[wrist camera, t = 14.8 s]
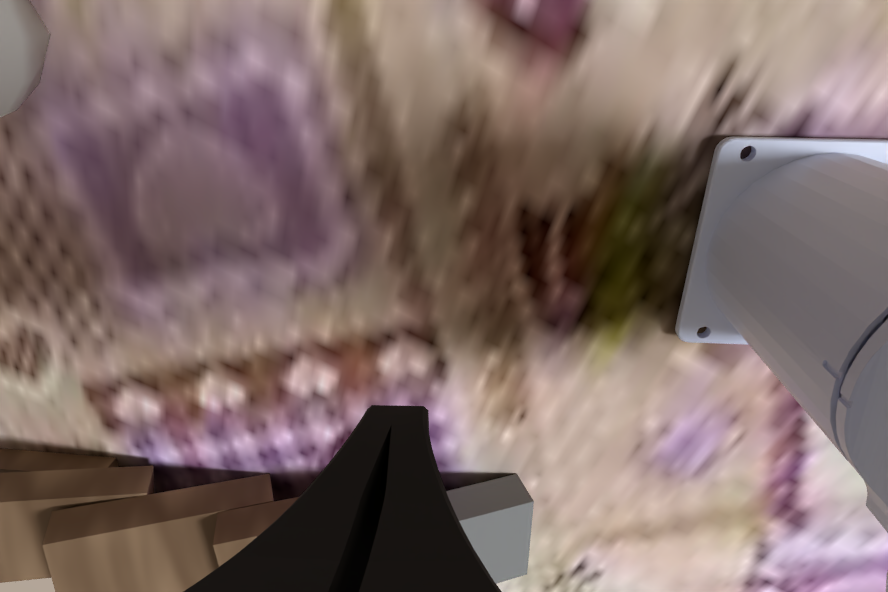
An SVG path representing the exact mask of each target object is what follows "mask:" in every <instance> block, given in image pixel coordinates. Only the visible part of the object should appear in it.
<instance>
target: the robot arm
mask: <svg viewBox="0 0 888 592" xmlns="http://www.w3.org/2000/svg"><path fill="white" fill-rule="evenodd" d="M746 146H750V147H751V153H750V155H749V156H748V157H746V158H744V159H741V158H740V153H741V151H742V149H744V148H745V147H746ZM701 327H707V329H706V330H705V331H704V332H703V333H697V331H698V329H700V328H701ZM675 332H676V334H677V336H678V337H679V339H681V340H682V341H684V342H694V343H721V344H749V345H750V346H751V347H752V349H753V350H754V351H755V352H756V353H757V355H758V356H759V357H760V358H761V359H762V360H763V362H764V363H765V364H766V365H767V366H768V368H769V369H770V370H771V371H772V372H773V373H774V375H775V376H776V377H777V378H778V379H779V381H780V382H781V383H782V384H783V385H784V386H785V388H786V389H787V390H788V391H789V392H790V393H791V395H792V396H793V397H794V398H795V399H796V401H797V402H798V403H799V404H800V405H801V406H802V408H803V409H804V410H805V411H806V412H807V414H808V415H809V416H810V417H811V418H812V419H813V421H814V422H815V423H816V424H817V425H818V426H819V428H820V429H821V430H822V431H823V432H824V434H825V435H826V436H827V437H828V438H829V439H830V441H831V442H832V443H833V444H834V445H835V447H836V448H837V449H838V450H839V451H840V452H841V454H842V455H843V456H844V457H845V458H846V459H847V460H848V461H849V462H850V464H851V465H852V466H853V467H854V468H855V470H856V471H857V472H858V473H859V475H860V476H861V477H862V478H863V479H864V481H865V484H866V486H867V492H868V496H867V501H866V506H867V508H868V509H869V510H870V511H871V512H872V514H873V515H874V516H875V517H876V519H877V520H878V521H879V522H880V524H881V525H882V526H883V527H884V529H885V530H886V531H887V532H888V140H880V139H832V138H783V137H734V136H732V137H727V138H725V139H723V140H721V141H720V142H719V143H718V144H717V146H716V148H715V151H714V155H713V159H712V164H711V168H710V173H709V177H708V182H707V186H706V191H705V195H704V200H703V204H702V209H701V213H700V218H699V222H698V227H697V231H696V236H695V240H694V245H693V249H692V254H691V258H690V263H689V267H688V272H687V276H686V281H685V285H684V290H683V294H682V299H681V303H680V308H679V312H678V317H677V321H676V326H675ZM183 592H501V590H500V589H499V588H498V586H497V585H496V583H495V582H494V580H493V579H492V577H491V576H490V574H489V572H488V571H487V569H486V568H485V566H484V564H483V563H482V561H481V560H480V558H479V556H478V555H477V553H476V552H475V550H474V548H473V547H472V545H471V543H470V541H469V539H468V537H467V535H466V534H465V532H464V530H463V528H462V526H461V524H460V522H459V520H458V518H457V516H456V513H455V511H454V509H453V507H452V505H451V502H450V500H449V498H448V495H447V492H446V490H445V487H444V485H443V482H442V479H441V476H440V474H439V471H438V467H437V464H436V461H435V457H434V454H433V450H432V446H431V442H430V437H429V420H428V410H427V409H426V408H425V407H424V406H379V405H372V406H371V407H370V408H368V409H367V411H366V412H365V414H364V416H363V417H362V419H361V420H360V422H359V423H358V425H357V426H356V428H355V429H354V431H353V432H352V433H351V435H350V436H349V438H348V439H347V440H346V442H345V443H344V444H343V446H342V447H341V448H340V450H339V451H338V452H337V453H336V455H335V456H334V457H333V459H332V460H331V461H330V462H329V464H328V465H327V466H326V467H325V469H324V470H323V471H322V472H321V473H320V474H319V476H318V477H317V478H316V479H315V480H314V481H313V482H312V484H311V485H310V486H309V487H308V488H307V489H306V490H305V491H304V493H303V494H302V495H301V496H300V497H299V498H298V499H297V500H296V501H295V502H294V503H293V504H292V505H291V506H290V507H289V508H288V509H287V510H286V511H285V512H284V513H283V514H282V515H281V516H280V517H279V518H278V519H277V520H276V521H274V522H273V523H272V524H271V525H270V526H269V527H268V528H267V529H265V530H264V531H263V532H262V533H261V534H260V535H259V536H257V537H256V538H255V539H254V540H253V541H252V542H251V543H249V544H248V545H247V546H246V547H244V548H243V549H242V550H241V551H240V552H238V553H237V554H236V555H234V556H233V557H232V558H230V559H229V560H228V561H226V562H225V563H224V564H222V565H221V566H220V567H218V568H217V569H215V570H214V571H213V572H211V573H210V574H209V575H207V576H206V577H204V578H203V579H201V580H200V581H199V582H197V583H196V584H194V585H193V586H191V587H189V588H188V589H186V590H185V591H183ZM886 592H888V572H887V579H886Z"/></svg>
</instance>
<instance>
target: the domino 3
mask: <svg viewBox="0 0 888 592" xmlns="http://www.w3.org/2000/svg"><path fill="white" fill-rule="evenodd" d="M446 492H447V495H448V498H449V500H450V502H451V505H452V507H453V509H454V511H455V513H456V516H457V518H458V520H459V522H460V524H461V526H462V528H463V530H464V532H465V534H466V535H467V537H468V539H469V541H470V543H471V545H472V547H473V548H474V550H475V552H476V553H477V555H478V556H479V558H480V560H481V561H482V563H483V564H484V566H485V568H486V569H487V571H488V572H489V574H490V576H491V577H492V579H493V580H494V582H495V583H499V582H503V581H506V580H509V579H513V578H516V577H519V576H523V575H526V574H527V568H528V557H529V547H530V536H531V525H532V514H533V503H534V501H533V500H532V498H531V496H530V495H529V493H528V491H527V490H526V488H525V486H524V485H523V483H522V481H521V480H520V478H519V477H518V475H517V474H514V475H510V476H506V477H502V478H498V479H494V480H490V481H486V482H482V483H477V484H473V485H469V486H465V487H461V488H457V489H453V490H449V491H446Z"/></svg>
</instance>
